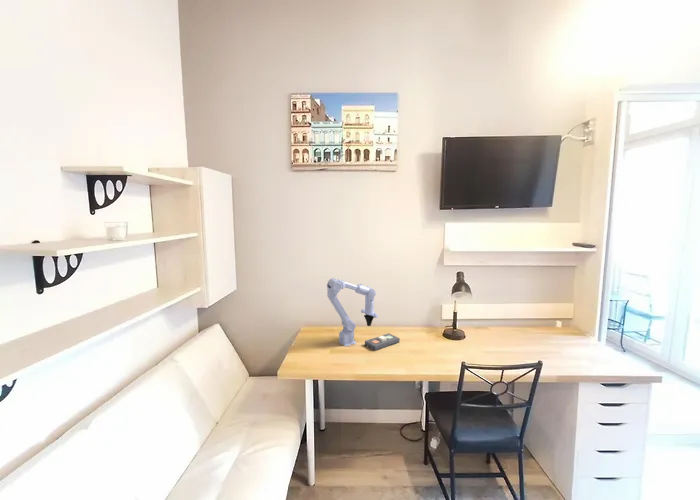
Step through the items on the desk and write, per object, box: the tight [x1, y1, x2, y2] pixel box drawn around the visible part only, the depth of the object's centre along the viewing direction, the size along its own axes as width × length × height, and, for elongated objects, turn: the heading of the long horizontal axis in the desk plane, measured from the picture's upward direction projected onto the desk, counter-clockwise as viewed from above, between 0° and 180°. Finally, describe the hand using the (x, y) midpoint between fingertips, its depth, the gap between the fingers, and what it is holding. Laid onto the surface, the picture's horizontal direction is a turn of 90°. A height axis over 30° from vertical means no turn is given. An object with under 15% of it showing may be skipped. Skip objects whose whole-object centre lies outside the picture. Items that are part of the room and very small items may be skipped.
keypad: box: [364, 332, 401, 352], centre depth 213 cm, size 21×10×3 cm, turn 127°
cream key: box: [377, 335, 387, 342], centre depth 213 cm, size 4×4×2 cm
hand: (369, 325), depth 219 cm, fingers closed
